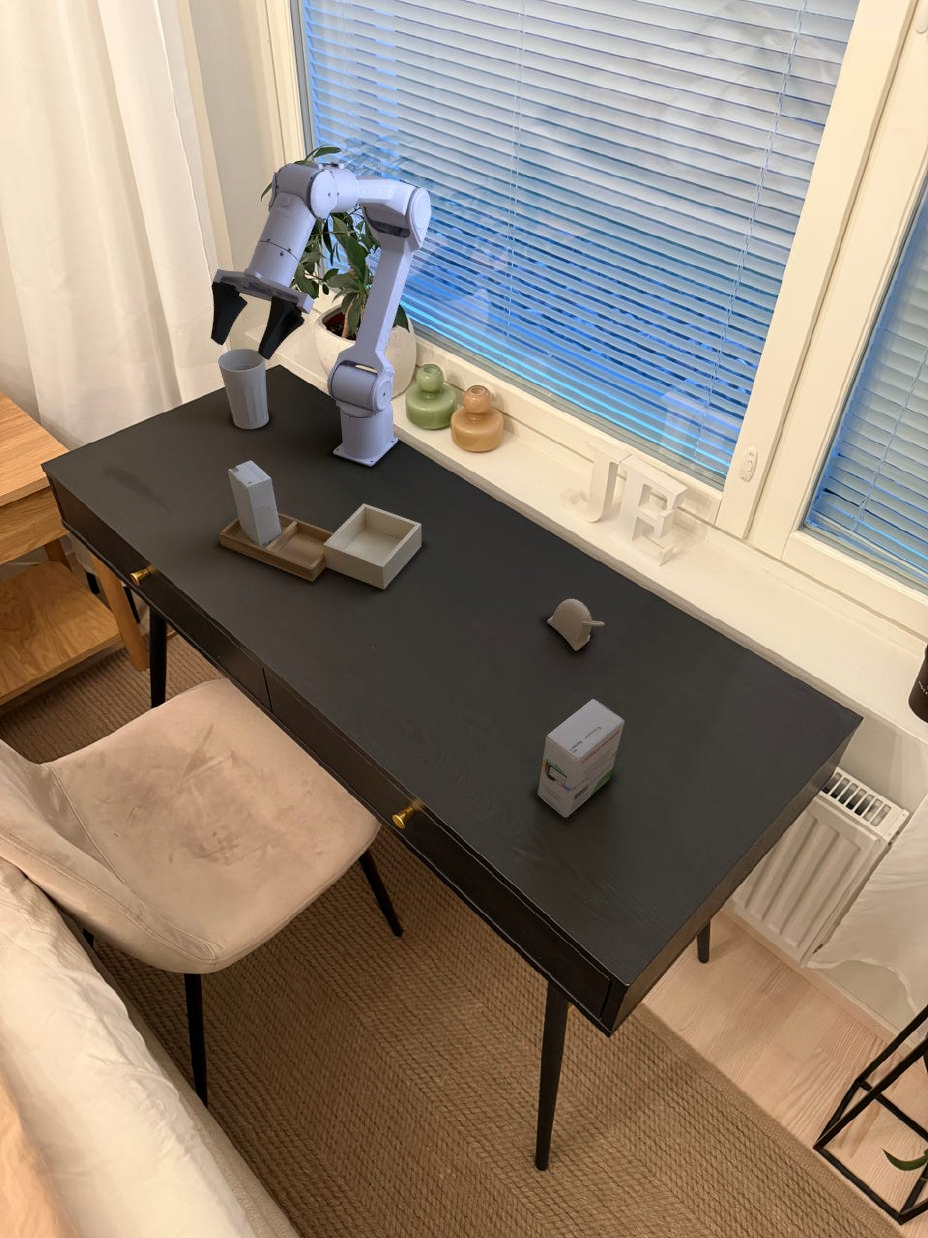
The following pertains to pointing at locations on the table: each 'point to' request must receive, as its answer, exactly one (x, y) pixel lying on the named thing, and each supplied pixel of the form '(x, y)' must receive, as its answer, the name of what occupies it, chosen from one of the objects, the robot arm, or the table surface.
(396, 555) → the basin
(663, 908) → the table surface
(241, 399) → the cup
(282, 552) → the tray
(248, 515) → the cosmetic box
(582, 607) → the decorative ornament
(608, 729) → the ink box
